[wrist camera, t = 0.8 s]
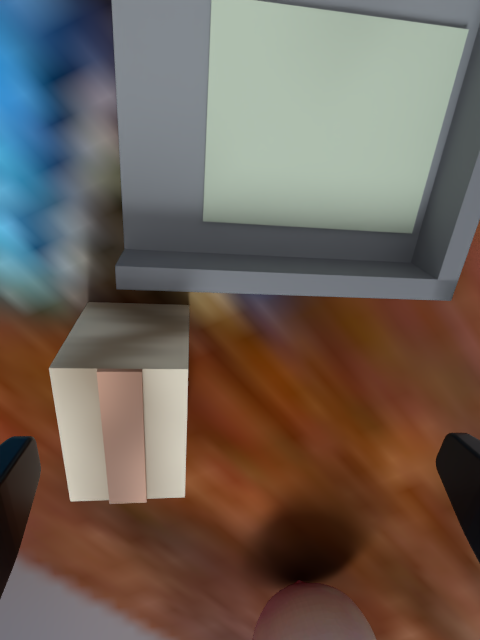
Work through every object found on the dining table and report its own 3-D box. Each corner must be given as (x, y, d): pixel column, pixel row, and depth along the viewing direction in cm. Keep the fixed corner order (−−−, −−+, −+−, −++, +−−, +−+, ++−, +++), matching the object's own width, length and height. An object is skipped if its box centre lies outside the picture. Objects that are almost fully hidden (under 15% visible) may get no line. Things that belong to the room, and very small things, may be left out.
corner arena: (560, -196, 13) (654, -278, 10) (417, 277, 21) (450, 300, 18) (99, -301, 11) (70, -436, 8) (127, 265, 19) (116, 289, 16)
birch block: (189, 304, 20) (188, 372, 14) (186, 411, 23) (184, 500, 18) (88, 301, 19) (46, 371, 14) (99, 411, 22) (69, 505, 17)
